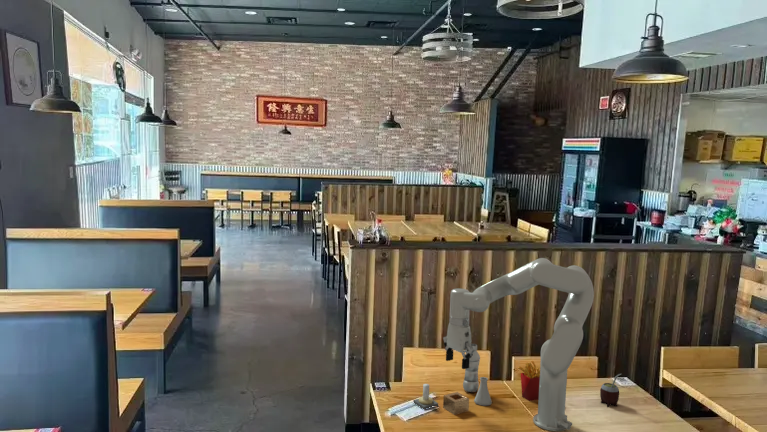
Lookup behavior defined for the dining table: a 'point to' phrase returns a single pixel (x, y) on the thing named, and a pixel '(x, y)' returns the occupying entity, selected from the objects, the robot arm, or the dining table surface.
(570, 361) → the robot arm
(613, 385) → the mate gourd
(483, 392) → the flask
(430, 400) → the post stand
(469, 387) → the plastic bottle
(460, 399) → the collar
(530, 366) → the french fries
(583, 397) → the dining table surface
